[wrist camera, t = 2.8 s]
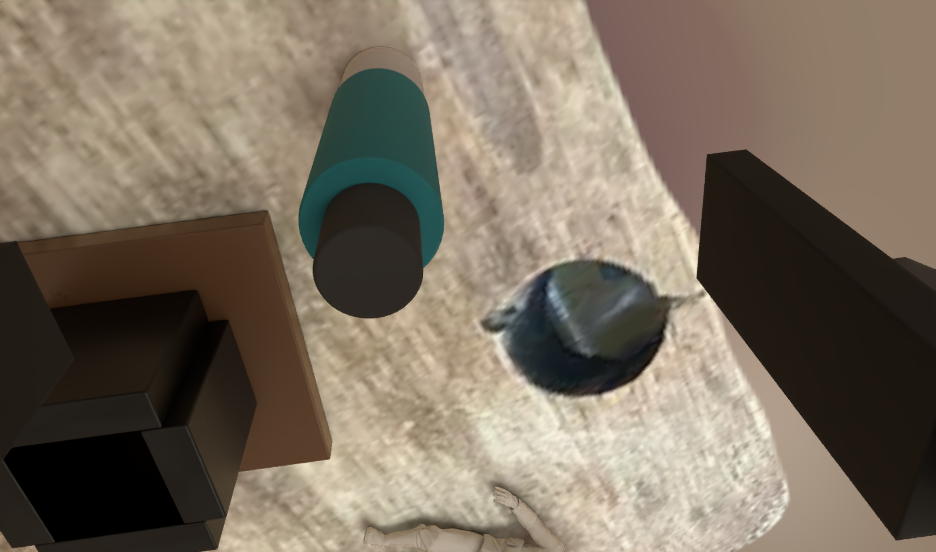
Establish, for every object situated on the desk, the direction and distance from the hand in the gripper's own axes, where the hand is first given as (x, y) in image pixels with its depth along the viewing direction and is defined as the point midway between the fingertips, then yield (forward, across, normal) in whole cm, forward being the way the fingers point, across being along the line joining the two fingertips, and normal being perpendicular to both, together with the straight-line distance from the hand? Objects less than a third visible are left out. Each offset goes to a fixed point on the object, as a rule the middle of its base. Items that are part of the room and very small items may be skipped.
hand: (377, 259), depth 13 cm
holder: (+12, -11, -10) cm, 19 cm away
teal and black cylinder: (+12, 0, 0) cm, 12 cm away
